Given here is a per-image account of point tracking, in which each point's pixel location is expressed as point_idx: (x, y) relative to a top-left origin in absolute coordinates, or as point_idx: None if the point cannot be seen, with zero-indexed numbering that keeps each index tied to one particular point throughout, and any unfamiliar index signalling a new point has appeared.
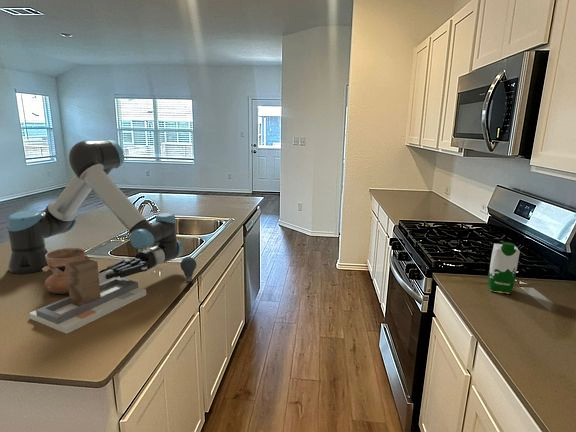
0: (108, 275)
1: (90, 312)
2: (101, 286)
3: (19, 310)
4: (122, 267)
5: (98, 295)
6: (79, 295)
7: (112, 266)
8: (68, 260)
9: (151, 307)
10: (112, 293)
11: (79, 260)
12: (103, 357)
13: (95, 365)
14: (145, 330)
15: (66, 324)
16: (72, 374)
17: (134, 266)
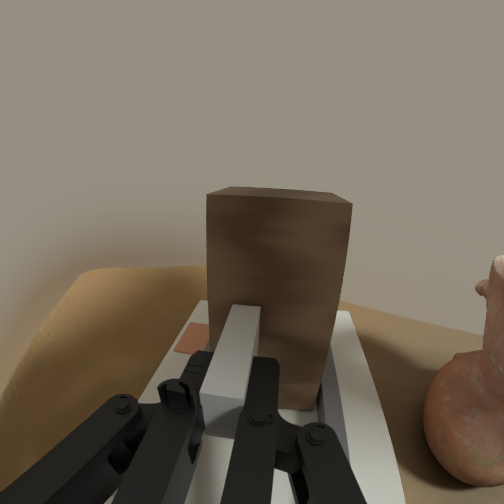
0: (194, 355)
1: (190, 343)
2: None
3: (406, 331)
4: (151, 474)
5: None
6: None
7: (306, 471)
8: (493, 284)
9: (26, 431)
10: None
11: (319, 196)
12: (94, 288)
13: (100, 280)
14: (35, 337)
15: None
16: (123, 270)
17: (31, 498)
